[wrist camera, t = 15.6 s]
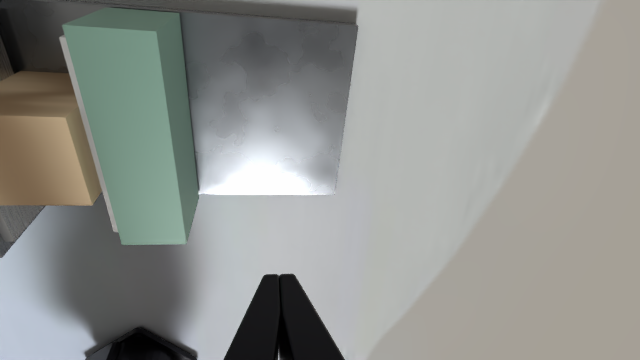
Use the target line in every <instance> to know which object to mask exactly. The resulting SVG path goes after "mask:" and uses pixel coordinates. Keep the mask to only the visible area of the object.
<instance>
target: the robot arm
mask: <svg viewBox="0 0 640 360" xmlns="http://www.w3.org/2000/svg"><path fill="white" fill-rule="evenodd" d="M278 353H279V359H280V360H345V359H344V357H343V356H342V354H341V352H340V351H339V349H338V347H337V346H336V344H335V342H334V340H333V339H332V337H331V335H330V334H329V332H328V330H327V329H326V327H325V325H324V324H323V322H322V320H321V318H320V317H319V315H318V313H317V312H316V310H315V308H314V307H313V305H312V303H311V302H310V300H309V298H308V296H307V295H306V293H305V291H304V290H303V288H302V286H301V285H300V283H299V281H298V280H297V278H296V276H295V275H294V274H281V275H280V276H279V275H277V274H266V275H264V276H263V278H262V280H261V282H260V284H259V286H258V288H257V290H256V293H255V295H254V297H253V299H252V301H251V303H250V305H249V307H248V309H247V311H246V314H245V316H244V318H243V320H242V322H241V324H240V326H239V328H238V330H237V333H236V335H235V337H234V339H233V341H232V343H231V345H230V347H229V349H228V351H227V354H226V356H225V358H224V360H278ZM85 360H197V358H195V357H194V356H192V355H190V354H188V353H187V352H185V351H183V350H181V349H179V348H178V347H176V346H174V345H172V344H170V343H169V342H167V341H165V340H163V339H161V338H160V337H158V336H156V335H154V334H153V333H151V332H149V331H147V330H145V329H143V328H136V329H134V330H132V331H131V332H129V333H127V334H126V335H124V336H122V337H121V338H119V339H117V340H116V341H114V342H112V343H110V344H109V345H107V346H105V347H104V348H102V349H100V350H99V351H97V352H95V353H94V354H92V355H91V356H89V357H87V358H86V359H85Z"/></svg>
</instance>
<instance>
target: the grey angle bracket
mask: <svg viewBox="0 0 640 360" xmlns="http://www.w3.org/2000/svg"><path fill="white" fill-rule="evenodd" d="M105 7H108V8H121V9H134V10H147V11H159V12H172V13H179V16H180V25H181V34H182V44H183V53H184V62H185V72H186V81H187V90H188V100H189V109H190V118H191V128H192V137H193V146H194V156H195V165H196V174H197V184H198V193H199V194H239V195H335V189H336V181H337V174H338V167H339V160H340V153H341V146H342V139H343V132H344V124H345V117H346V110H347V103H348V96H349V89H350V82H351V75H352V67H353V60H354V53H355V46H356V39H357V32H358V25H357V24H353V23H341V22H328V21H316V20H303V19H291V18H278V17H266V16H253V15H241V14H228V13H216V12H203V11H190V10H178V9H165V8H153V7H140V6H128V5H115V4H103V3H90V2H78V1H65V0H0V81H2V80H4V79H6V78H8V77H10V76H12V75H14V74H16V73H18V72H19V71H31V72H51V73H69V71H68V67H67V64H66V60H65V57H64V53H63V50H62V46H61V42H60V39H59V37H60V36H63V35H65V34H64V30H63V27H62V25H63V24H66V23H68V22H71V21H73V20H76V19H78V18H81V17H83V16H85V15H88V14H90V13H93V12H95V11H98V10H100V9H103V8H105ZM100 194H103V192H101V193H100ZM45 206H46V205H0V258H2V257H3V256H4V255H5V254H6V252H7V251H8V250H9V249H10V248H11V246H12V245H13V244H14V243H15V242H16V240H17V239H18V238H19V237H20V236H21V235H22V233H23V232H24V231H25V230H26V229H27V227H28V226H29V225H30V224H31V223H32V221H33V220H34V219H35V218H36V217H37V216H38V214H39V213H40V212H41V211H42V210H43V208H44V207H45Z"/></svg>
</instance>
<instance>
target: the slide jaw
mask: <svg viewBox="0 0 640 360" xmlns="http://www.w3.org/2000/svg"><path fill="white" fill-rule="evenodd" d="M62 27H63V30H64V34H65V35H63V36H60V37H59V39H60V42H61V46H62V50H63V53H64V57H65V60H66V64H67V67H68V71H69V74H70V78H71V82H72V85H73V89H74V92H75V96H76V99H77V103H78V106H79V110H80V114H81V117H82V121H83V124H84V128H85V131H86V135H87V139H88V142H89V146H90V149H91V153H92V156H93V160H94V163H95V167H96V171H97V174H98V178H99V181H100V185H101V188H102V192H103V196H104V199H105V203H106V206H107V210H108V213H109V217H110V220H111V224H112V228H113V231H114V232H118V233H119V236H120V240H121V244H122V245H165V244H187V240H188V237H189V233H190V229H191V225H192V221H193V218H194V214H195V210H196V206H197V203H198V199H199V193H198V184H197V174H196V165H195V156H194V146H193V137H192V128H191V118H190V109H189V100H188V90H187V81H186V72H185V62H184V53H183V44H182V34H181V25H180V16H179V13H172V12H159V11H147V10H134V9H121V8H108V7H105V8H103V9H100V10H98V11H95V12H93V13H90V14H88V15H85V16H83V17H81V18H78V19H76V20H73V21H71V22H68V23H66V24H63V25H62Z"/></svg>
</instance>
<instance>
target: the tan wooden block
mask: <svg viewBox="0 0 640 360" xmlns="http://www.w3.org/2000/svg"><path fill="white" fill-rule="evenodd" d="M101 192H102V188H101V185H100V181H99V178H98V174H97V171H96V167H95V163H94V160H93V156H92V153H91V149H90V146H89V142H88V139H87V135H86V131H85V128H84V124H83V121H82V117H81V114H80V110H79V106H78V103H77V99H76V96H75V92H74V89H73V85H72V82H71V78H70V74H69V73H51V72H31V71H19V72H18V73H16V74H14V75H12V76H10V77H8V78H6V79H4V80H2V81H0V205H93V204H94V202H95V201H96V199H97V198H98V196H99V195H100V193H101Z"/></svg>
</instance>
